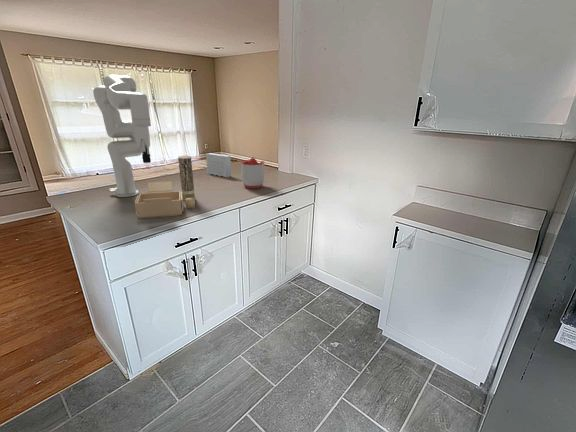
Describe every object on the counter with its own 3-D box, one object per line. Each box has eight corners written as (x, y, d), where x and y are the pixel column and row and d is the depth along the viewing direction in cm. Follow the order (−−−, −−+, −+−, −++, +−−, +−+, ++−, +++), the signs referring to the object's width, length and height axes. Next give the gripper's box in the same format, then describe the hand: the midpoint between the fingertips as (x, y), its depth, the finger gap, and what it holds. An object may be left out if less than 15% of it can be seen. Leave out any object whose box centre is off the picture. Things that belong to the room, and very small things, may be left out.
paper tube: (190, 196, 177) (186, 155, 168) (197, 199, 173) (193, 156, 164) (180, 199, 172) (175, 156, 163) (187, 202, 168) (182, 158, 159)
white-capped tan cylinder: (186, 209, 157) (185, 200, 156) (185, 206, 162) (185, 197, 160) (195, 208, 159) (194, 199, 157) (195, 205, 163) (194, 196, 161)
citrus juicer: (269, 185, 206) (270, 156, 199) (257, 191, 191) (257, 160, 184) (250, 182, 212) (250, 154, 205) (237, 187, 197) (236, 158, 190)
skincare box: (231, 176, 226) (230, 155, 220) (226, 177, 222) (225, 156, 216) (212, 172, 236) (210, 152, 230) (206, 173, 232) (205, 153, 226)
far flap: (172, 190, 160) (171, 181, 163) (172, 190, 159) (171, 181, 163) (148, 192, 156) (148, 183, 159) (148, 191, 155) (148, 182, 159)
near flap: (145, 202, 141) (142, 200, 134) (144, 201, 141) (142, 199, 135) (171, 200, 144) (170, 198, 138) (171, 199, 144) (170, 197, 138)
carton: (136, 219, 143) (134, 203, 140) (140, 208, 157) (138, 193, 154) (183, 214, 149) (182, 199, 147) (183, 204, 164) (181, 190, 161)
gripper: (134, 120, 139) (140, 159, 146) (129, 124, 126) (136, 166, 133) (151, 121, 141) (156, 158, 148) (149, 124, 128) (154, 165, 135)
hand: (147, 162), depth 141 cm, fingers closed
